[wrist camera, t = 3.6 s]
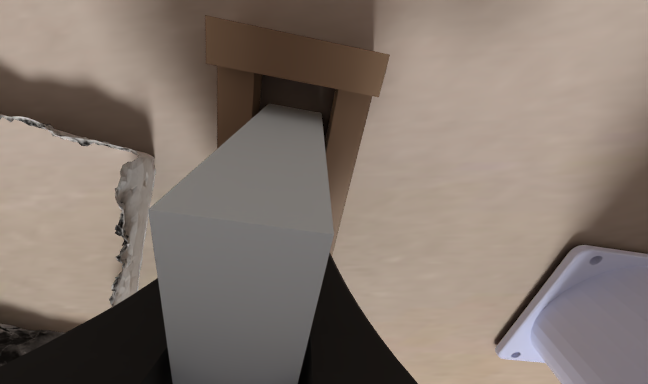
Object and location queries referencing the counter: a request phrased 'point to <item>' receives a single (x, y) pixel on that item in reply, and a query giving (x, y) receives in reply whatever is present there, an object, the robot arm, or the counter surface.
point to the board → (246, 253)
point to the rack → (303, 66)
